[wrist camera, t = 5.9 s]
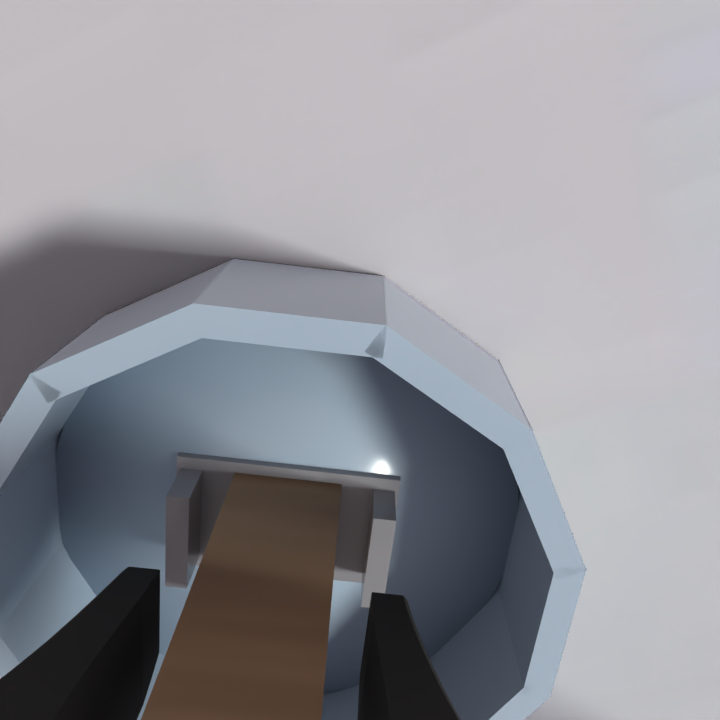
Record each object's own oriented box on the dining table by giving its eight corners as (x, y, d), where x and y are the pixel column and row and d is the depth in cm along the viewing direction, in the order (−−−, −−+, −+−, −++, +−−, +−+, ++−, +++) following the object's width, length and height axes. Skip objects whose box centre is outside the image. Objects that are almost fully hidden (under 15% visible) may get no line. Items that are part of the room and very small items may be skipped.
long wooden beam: (331, 571, 17) (303, 875, 10) (229, 561, 17) (135, 858, 10) (341, 484, 16) (318, 754, 9) (234, 472, 16) (134, 736, 9)
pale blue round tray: (486, 713, 19) (510, 839, 16) (54, 669, 19) (-14, 788, 16) (586, 299, 15) (647, 354, 12) (26, 234, 15) (-75, 271, 11)
